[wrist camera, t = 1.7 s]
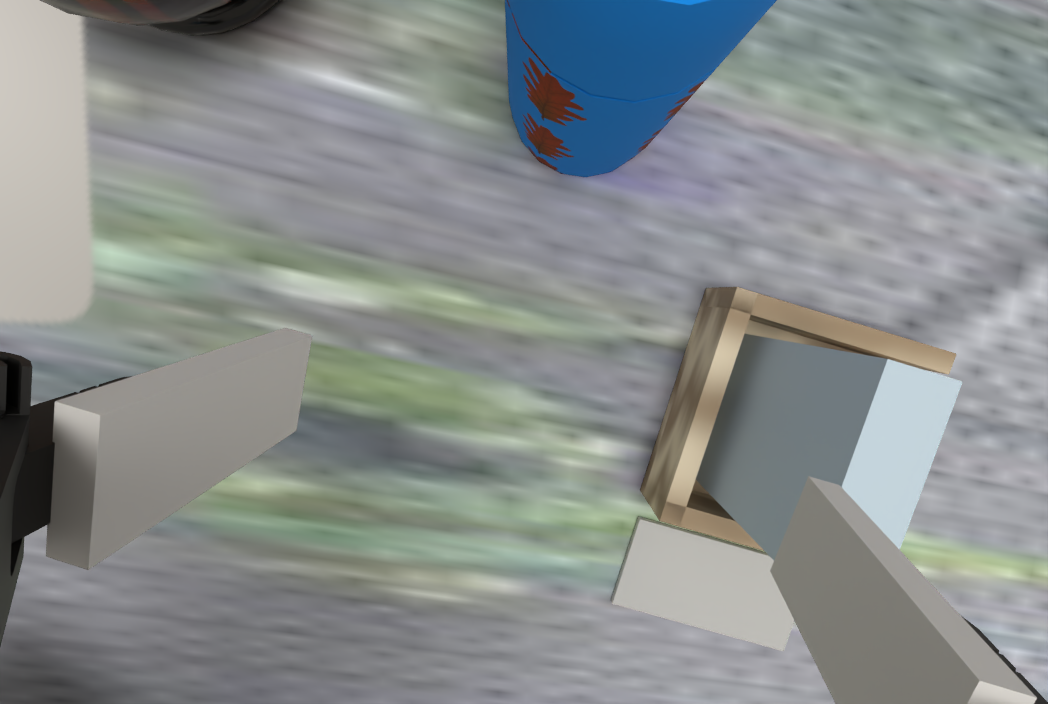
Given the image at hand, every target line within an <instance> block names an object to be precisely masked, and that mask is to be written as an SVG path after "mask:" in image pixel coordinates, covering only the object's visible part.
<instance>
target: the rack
mask: <svg viewBox="0 0 1048 704" xmlns="http://www.w3.org/2000/svg"><path fill="white" fill-rule="evenodd" d="M744 334H749V335H755V336H761V337H766V338H772V339H778V340H783V341H789V342H795V343H800V344H806V345H812V346H817V347H823V348H829V349H834V350H840V351H846V352H851V353H857V354H863V355H868V356H874V357H880V358H885V359H890V360H893V361H896V362H900V363H903V364H906V365H909V366H913V367H916V368H919V369H923V370H928V371H933V372H938V373H944V374H949V373H950V370H951V367H952V365H953V362H954V359H955V357H956V354H955V353H952V352H949V351H946V350H942V349H939V348H936V347H932V346H929V345H926V344H923V343H919V342H916V341H913V340H909V339H906V338H903V337H900V336H896V335H893V334H890V333H887V332H883V331H880V330H877V329H873V328H870V327H867V326H864V325H860V324H857V323H854V322H850V321H847V320H844V319H841V318H837V317H834V316H831V315H827V314H824V313H821V312H818V311H814V310H811V309H808V308H804V307H801V306H798V305H795V304H791V303H788V302H785V301H782V300H778V299H775V298H772V297H768V296H765V295H762V294H759V293H755V292H752V291H749V290H745V289H742V288H739V287H719V288H706V290H705V293H704V296H703V299H702V302H701V305H700V308H699V311H698V314H697V317H696V320H695V323H694V326H693V330H692V333H691V336H690V339H689V342H688V345H687V348H686V351H685V354H684V357H683V360H682V363H681V366H680V369H679V372H678V375H677V379H676V382H675V385H674V388H673V391H672V394H671V397H670V400H669V403H668V406H667V409H666V412H665V415H664V418H663V421H662V424H661V428H660V431H659V434H658V437H657V440H656V443H655V446H654V449H653V452H652V455H651V458H650V461H649V464H648V467H647V470H646V473H645V477H644V480H643V483H642V486H641V489H640V491H641V492H642V494H643V495H644V497H645V499H646V500H647V502H648V503H649V505H650V507H651V508H652V510H653V511H654V513H655V514H656V516H657V518H658V519H659V521H661V522H665V523H669V524H672V525H676V526H679V527H683V528H686V529H690V530H693V531H697V532H700V533H704V534H707V535H711V536H714V537H718V538H721V539H725V540H728V541H732V542H735V543H739V544H742V545H746V546H749V547H753V548H756V549H760V550H763V549H762V548H761V547H760V546H759V545H758V544H757V543H756V542H755V541H754V540H753V538H752V537H751V536H750V535H749V534H748V533H747V532H746V531H745V530H744V529H743V528H742V527H741V526H740V525H739V524H738V523H737V522H736V521H735V520H734V519H733V518H732V517H731V516H730V515H729V514H728V513H727V512H726V510H725V509H724V508H723V507H722V506H721V505H720V504H719V503H718V502H717V501H716V500H715V499H714V498H713V497H712V496H711V495H710V494H709V493H708V492H707V491H706V490H705V489H704V488H703V487H702V486H701V485H700V484H699V483H698V481H697V480H696V477H697V474H698V471H699V468H700V465H701V462H702V459H703V456H704V453H705V450H706V447H707V444H708V441H709V438H710V435H711V432H712V429H713V426H714V423H715V420H716V417H717V414H718V411H719V408H720V405H721V402H722V399H723V396H724V393H725V390H726V387H727V384H728V381H729V378H730V375H731V372H732V369H733V366H734V363H735V360H736V357H737V354H738V351H739V348H740V345H741V342H742V340H743V337H744ZM763 551H764V550H763Z"/></svg>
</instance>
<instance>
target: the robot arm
mask: <svg viewBox="0 0 1048 704" xmlns="http://www.w3.org/2000/svg"><path fill="white" fill-rule="evenodd" d="M311 340H312V335H309V334H306V333H302V332H298V331H295V330H291V329H288V328H283V329H280V330H276V331H273V332H270V333H267V334H264V335H261V336H258V337H254V338H251V339H248V340H245V341H242V342H239V343H236V344H233V345H229V346H226V347H223V348H220V349H217V350H214V351H211V352H208V353H204V354H201V355H198V356H195V357H192V358H189V359H186V360H183V361H179V362H176V363H173V364H170V365H167V366H164V367H161V368H157V369H154V370H151V371H148V372H145V373H142V374H139V375H136V376H131V377H123V378H119V379H116V380H113V381H109V382H106V383H103V384H100V385H99V386H98V387H96V386H93V387H90V388H87V389H84V390H81V391H80V392H79V393H76V392H74V393H71V394H68V395H65V396H62V397H59V398H55V399H52V400H49V401H46V402H43V403H39V404H36V405H33V406H30V403H31V382H32V365H31V361H29V360H27V359H26V358H24V357H22V356H19V355H15V354H11V353H6V352H0V646H1V642H2V638H3V634H4V630H5V626H6V622H7V618H8V614H9V610H10V607H11V603H12V599H13V595H14V591H15V587H16V583H17V579H18V575H19V572H20V568H21V564H22V560H23V553H24V537H25V536H27V535H29V534H30V533H32V532H34V531H36V530H38V529H40V528H42V527H43V526H45V525H47V524H48V527H47V545H46V556H47V557H50V558H53V559H56V560H59V561H62V562H65V563H68V564H71V565H74V566H78V567H81V568H84V569H87V570H89V569H91V568H92V567H94V566H95V565H97V564H98V563H100V562H101V561H103V560H104V559H105V558H107V557H108V556H110V555H111V554H113V553H114V552H116V551H117V550H119V549H120V548H122V547H123V546H125V545H126V544H128V543H129V542H131V541H132V540H134V539H135V538H137V537H138V536H140V535H141V534H143V533H144V532H146V531H147V530H149V529H150V528H152V527H153V526H155V525H156V524H158V523H159V522H161V521H162V520H164V519H165V518H167V517H168V516H170V515H171V514H173V513H174V512H176V511H177V510H179V509H180V508H182V507H183V506H185V505H186V504H188V503H189V502H191V501H192V500H194V499H195V498H196V497H198V496H199V495H201V494H202V493H204V492H205V491H207V490H208V489H210V488H211V487H213V486H214V485H216V484H217V483H219V482H220V481H222V480H223V479H225V478H226V477H228V476H229V475H231V474H232V473H234V472H235V471H237V470H238V469H240V468H241V467H243V466H244V465H246V464H247V463H249V462H250V461H252V460H253V459H255V458H256V457H258V456H259V455H261V454H262V453H264V452H265V451H267V450H268V449H270V448H271V447H273V446H274V445H276V444H277V443H279V442H280V441H282V440H283V439H285V438H286V437H287V436H289V435H290V434H292V433H293V432H295V431H296V430H297V424H298V418H299V412H300V406H301V400H302V394H303V388H304V382H305V376H306V370H307V364H308V358H309V352H310V346H311ZM770 572H771V574H772V576H773V578H774V580H775V582H776V584H777V586H778V588H779V590H780V592H781V594H782V596H783V598H784V600H785V602H786V604H787V606H788V608H789V610H790V612H791V615H792V617H793V619H794V621H795V623H796V625H797V627H798V629H799V631H800V633H801V635H802V637H803V639H804V641H805V643H806V645H807V647H808V649H809V651H810V653H811V655H812V657H813V659H814V661H815V663H816V665H817V667H818V669H819V671H820V673H821V675H822V677H823V679H824V681H825V683H826V685H827V687H828V689H829V691H830V693H831V695H832V697H833V699H834V701H835V703H836V704H1048V702H1047V701H1046V700H1045V699H1044V698H1043V697H1042V696H1041V695H1040V694H1039V693H1038V692H1037V690H1036V689H1035V688H1034V687H1033V686H1032V685H1031V684H1030V683H1029V682H1028V681H1027V680H1026V679H1025V678H1024V677H1023V676H1022V675H1021V674H1020V673H1018V672H1016V668H1015V667H1014V666H1013V665H1012V664H1011V663H1010V662H1009V661H1008V660H1007V659H1006V658H1005V657H1004V655H1001V654H999V650H998V649H997V648H996V647H995V646H994V645H993V644H992V643H991V642H990V641H989V640H988V638H987V637H986V636H985V635H984V634H983V633H982V632H981V631H980V630H979V629H978V628H976V627H975V626H974V625H973V624H971V623H970V622H969V621H967V620H966V619H965V618H963V617H962V616H961V615H960V614H959V613H958V612H957V611H956V610H955V609H954V608H953V607H952V606H951V605H950V604H949V603H948V601H947V600H946V599H945V598H944V597H943V596H942V595H941V594H940V593H939V592H938V591H937V590H936V589H935V587H934V586H933V585H932V584H931V583H930V582H929V581H928V580H927V579H926V578H925V577H924V576H923V575H922V573H921V572H920V571H919V570H918V569H917V568H916V567H915V566H914V565H913V564H912V563H911V562H910V561H909V559H908V558H907V557H906V556H905V555H904V554H903V553H902V552H901V551H900V550H899V549H898V548H897V547H896V545H895V544H894V543H893V542H892V541H891V540H890V539H889V538H888V537H887V536H886V535H885V534H884V533H883V531H882V530H881V529H880V528H879V527H878V526H877V525H876V524H875V523H874V522H873V521H872V520H871V519H870V517H869V516H868V515H867V514H866V513H865V512H864V511H863V510H862V509H861V508H860V507H859V506H858V505H857V503H856V502H855V501H854V500H853V499H852V498H851V497H850V496H849V495H848V494H847V493H846V492H845V491H844V489H843V488H842V487H841V486H840V485H838V484H834V483H831V482H827V481H824V480H820V479H817V478H813V477H810V476H808V478H807V481H806V483H805V486H804V488H803V491H802V493H801V496H800V498H799V501H798V503H797V506H796V508H795V510H794V513H793V515H792V518H791V520H790V523H789V525H788V528H787V530H786V533H785V535H784V538H783V540H782V542H781V545H780V547H779V550H778V552H777V555H776V557H775V560H774V562H773V565H772V567H771V570H770Z"/></svg>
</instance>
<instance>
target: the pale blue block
mask: <svg viewBox="0 0 1048 704" xmlns="http://www.w3.org/2000/svg"><path fill="white" fill-rule="evenodd" d="M961 385H962V381H959V380H956V379H952V378H949V377H946V376H942V375H939V374H936V373H933V372H929V371H926V370H923V369H919V368H916V367H913V366H909V365H906V364H903V363H900V362H896V361H893V360H890V359H885V358H880V357H874V356H868V355H863V354H857V353H851V352H846V351H840V350H834V349H829V348H823V347H817V346H812V345H806V344H800V343H795V342H789V341H783V340H778V339H772V338H766V337H761V336H755V335H749V334H744V337H743V340H742V342H741V345H740V348H739V351H738V354H737V357H736V360H735V363H734V366H733V369H732V372H731V375H730V378H729V381H728V384H727V387H726V390H725V393H724V396H723V399H722V402H721V405H720V408H719V411H718V414H717V417H716V420H715V423H714V426H713V429H712V432H711V435H710V438H709V441H708V444H707V447H706V450H705V453H704V456H703V459H702V462H701V465H700V468H699V471H698V474H697V477H696V480H697V481H698V483H699V484H700V485H701V486H702V487H703V488H704V489H705V490H706V491H707V492H708V493H709V494H710V495H711V496H712V497H713V498H714V499H715V500H716V501H717V502H718V503H719V504H720V505H721V506H722V507H723V508H724V509H725V510H726V512H727V513H728V514H729V515H730V516H731V517H732V518H733V519H734V520H735V521H736V522H737V523H738V524H739V525H740V526H741V527H742V528H743V529H744V530H745V531H746V532H747V533H748V534H749V535H750V536H751V537H752V538H753V540H754V541H755V542H756V543H757V544H758V545H759V546H760V547H761V548H762V549H763V550H764V551H765V552H766V553H767V554H768V555H769V556H770V557H771V558H772V559H773V560H775V557H776V555H777V552H778V550H779V547H780V545H781V542H782V540H783V538H784V535H785V533H786V530H787V528H788V525H789V523H790V520H791V518H792V515H793V513H794V510H795V508H796V506H797V503H798V501H799V498H800V496H801V493H802V491H803V488H804V486H805V483H806V481H807V478H808V476H810V477H813V478H817V479H820V480H824V481H827V482H831V483H834V484H838V485H840V486H841V487H842V488H843V489H844V491H845V492H846V493H847V494H848V495H849V496H850V497H851V498H852V499H853V500H854V501H855V502H856V503H857V505H858V506H859V507H860V508H861V509H862V510H863V511H864V512H865V513H866V514H867V515H868V516H869V517H870V519H871V520H872V521H873V522H874V523H875V524H876V525H877V526H878V527H879V528H880V529H881V530H882V531H883V533H884V534H885V535H886V536H887V537H888V538H889V539H890V540H891V541H892V542H893V543H894V544H895V545H896V547H897V548H898V549H899V550H900V547H901V545H902V542H903V539H904V537H905V534H906V531H907V529H908V526H909V523H910V521H911V518H912V515H913V513H914V510H915V507H916V505H917V502H918V499H919V497H920V494H921V491H922V489H923V486H924V483H925V481H926V478H927V475H928V473H929V470H930V467H931V465H932V462H933V459H934V457H935V454H936V452H937V449H938V446H939V444H940V441H941V438H942V436H943V433H944V430H945V428H946V425H947V422H948V420H949V417H950V414H951V412H952V409H953V406H954V404H955V401H956V398H957V396H958V393H959V390H960V388H961Z"/></svg>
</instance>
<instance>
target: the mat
mask: <svg viewBox="0 0 1048 704" xmlns="http://www.w3.org/2000/svg"><path fill="white" fill-rule="evenodd" d="M773 562H774V560H773V559H772V558H771V557H770V556H769V555H768V554H767V553H766V552H762V551H759V550H755V549H752V548H748V547H745V546H741V545H738V544H734V543H731V542H727V541H724V540H720V539H717V538H713V537H710V536H706V535H703V534H699V533H696V532H692V531H689V530H685V529H682V528H678V527H675V526H671V525H668V524H664V523H661V522H657V521H654V520H650V519H647V518H643V517H640V516H638V519H637V522H636V525H635V528H634V531H633V534H632V537H631V540H630V543H629V546H628V549H627V552H626V555H625V558H624V561H623V564H622V568H621V571H620V574H619V577H618V580H617V583H616V586H615V589H614V592H613V595H612V598H611V601H612V604H615V605H619V606H622V607H626V608H630V609H633V610H637V611H640V612H644V613H648V614H651V615H655V616H658V617H662V618H666V619H669V620H673V621H676V622H680V623H684V624H687V625H691V626H694V627H698V628H702V629H705V630H709V631H712V632H716V633H720V634H723V635H727V636H730V637H734V638H738V639H741V640H745V641H748V642H752V643H756V644H759V645H763V646H766V647H770V648H774V649H777V650H781V651H784V649H785V646H786V643H787V640H788V638H789V635H790V632H791V629H792V627H793V624H794V619H793V617H792V615H791V612H790V610H789V608H788V606H787V604H786V602H785V600H784V598H783V596H782V594H781V592H780V590H779V588H778V586H777V584H776V582H775V580H774V578H773V576H772V574H771V572H770V570H771V567H772V565H773Z"/></svg>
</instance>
